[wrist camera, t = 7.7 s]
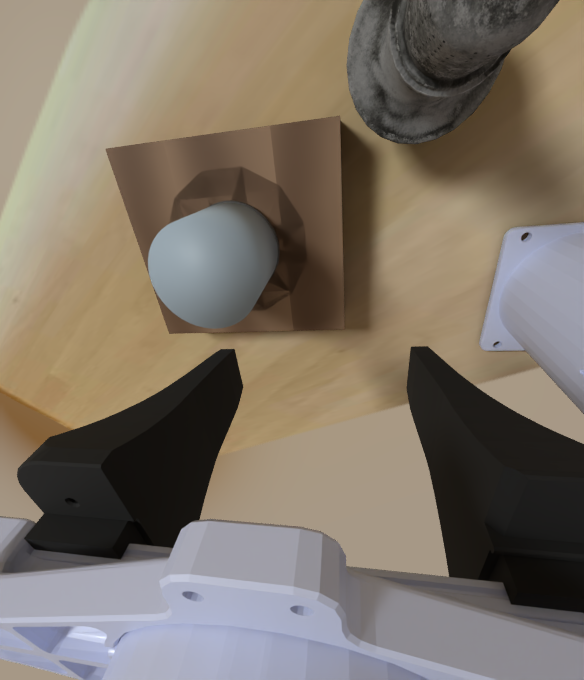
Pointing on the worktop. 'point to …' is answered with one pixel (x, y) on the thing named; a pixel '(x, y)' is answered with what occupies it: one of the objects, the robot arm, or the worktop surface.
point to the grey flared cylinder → (431, 60)
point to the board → (261, 193)
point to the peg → (214, 263)
